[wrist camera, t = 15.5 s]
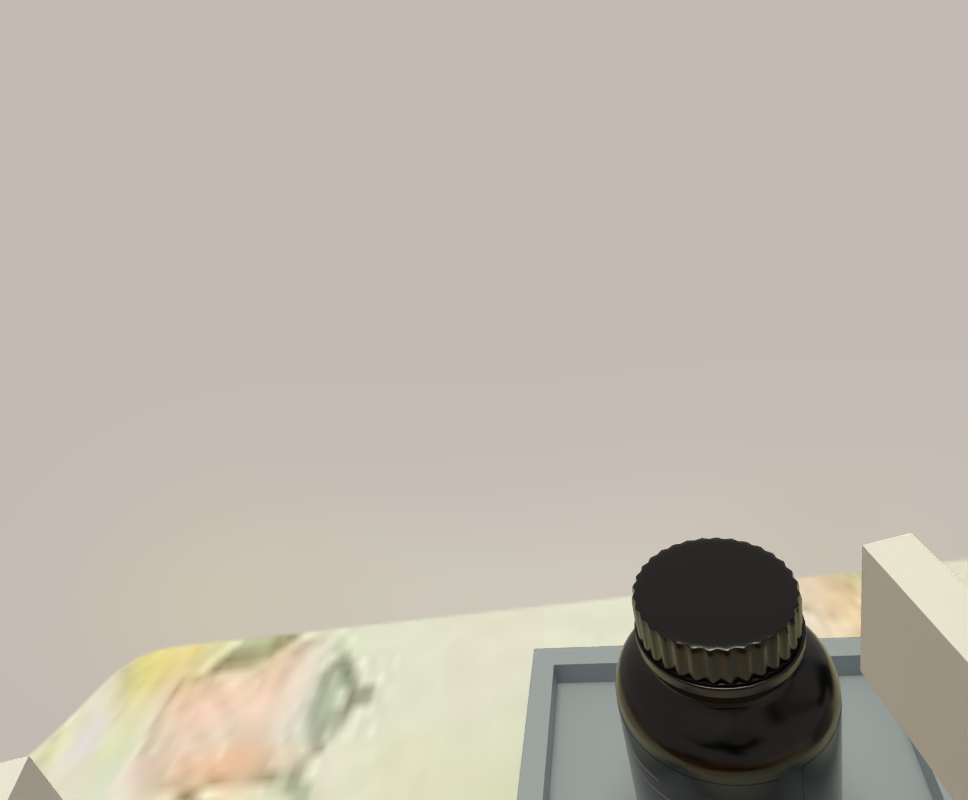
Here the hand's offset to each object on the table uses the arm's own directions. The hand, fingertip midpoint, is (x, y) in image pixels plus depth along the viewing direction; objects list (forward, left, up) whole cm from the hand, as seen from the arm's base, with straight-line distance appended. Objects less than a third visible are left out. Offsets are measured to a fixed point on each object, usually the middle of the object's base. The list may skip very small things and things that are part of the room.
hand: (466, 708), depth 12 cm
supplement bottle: (-5, -10, -19) cm, 21 cm away
